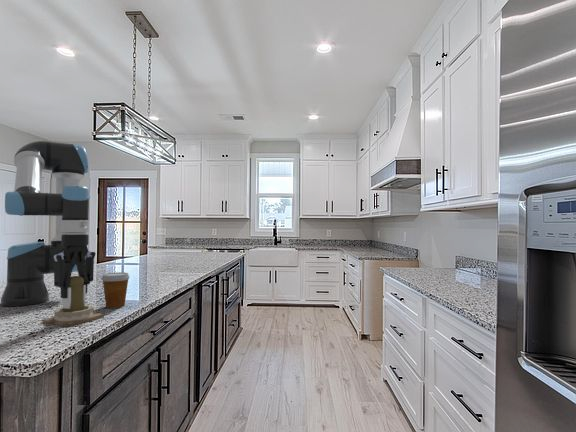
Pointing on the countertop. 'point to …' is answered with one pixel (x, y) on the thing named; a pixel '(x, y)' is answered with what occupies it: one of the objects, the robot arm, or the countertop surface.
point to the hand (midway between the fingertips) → (74, 306)
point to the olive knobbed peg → (76, 294)
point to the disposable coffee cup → (115, 288)
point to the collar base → (72, 323)
